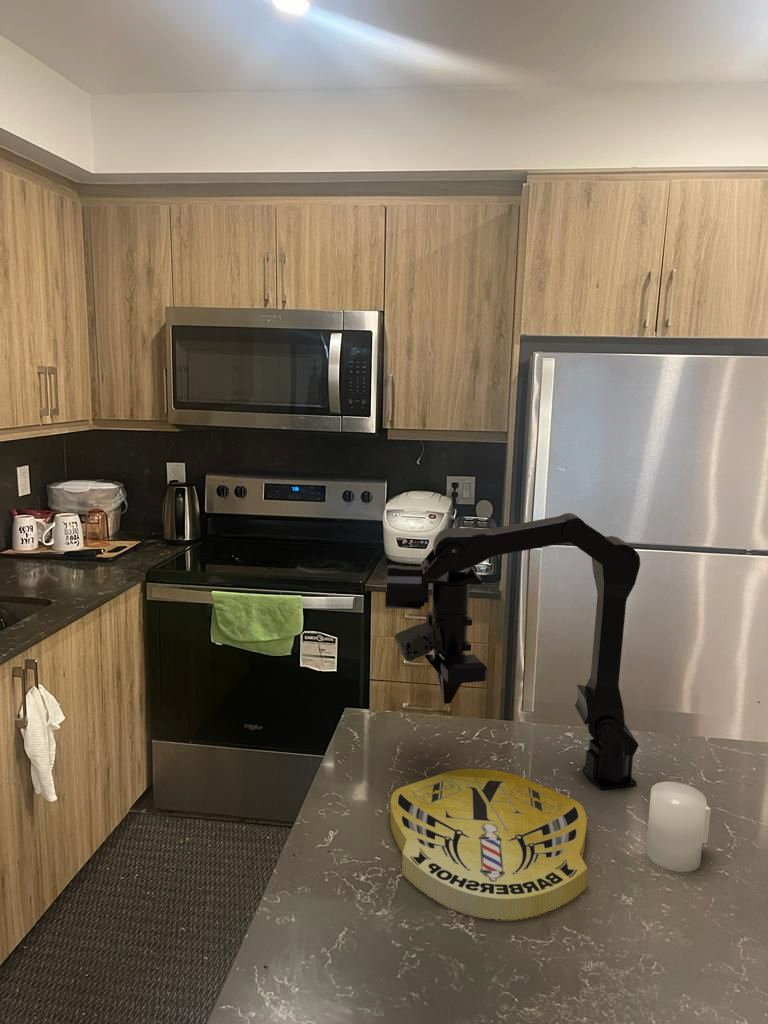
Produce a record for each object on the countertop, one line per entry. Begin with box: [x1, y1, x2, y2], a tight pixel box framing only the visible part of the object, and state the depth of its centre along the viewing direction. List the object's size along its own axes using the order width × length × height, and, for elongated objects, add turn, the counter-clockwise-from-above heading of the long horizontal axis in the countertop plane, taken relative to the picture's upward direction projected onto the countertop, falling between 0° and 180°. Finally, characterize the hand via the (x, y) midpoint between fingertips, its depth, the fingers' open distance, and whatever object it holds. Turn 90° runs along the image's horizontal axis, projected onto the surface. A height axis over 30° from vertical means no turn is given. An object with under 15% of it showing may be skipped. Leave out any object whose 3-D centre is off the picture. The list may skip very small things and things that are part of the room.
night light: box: [645, 781, 712, 873], centre depth 102 cm, size 8×7×9 cm
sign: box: [389, 768, 588, 921], centre depth 104 cm, size 28×3×30 cm
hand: (446, 702), depth 120 cm, fingers closed
